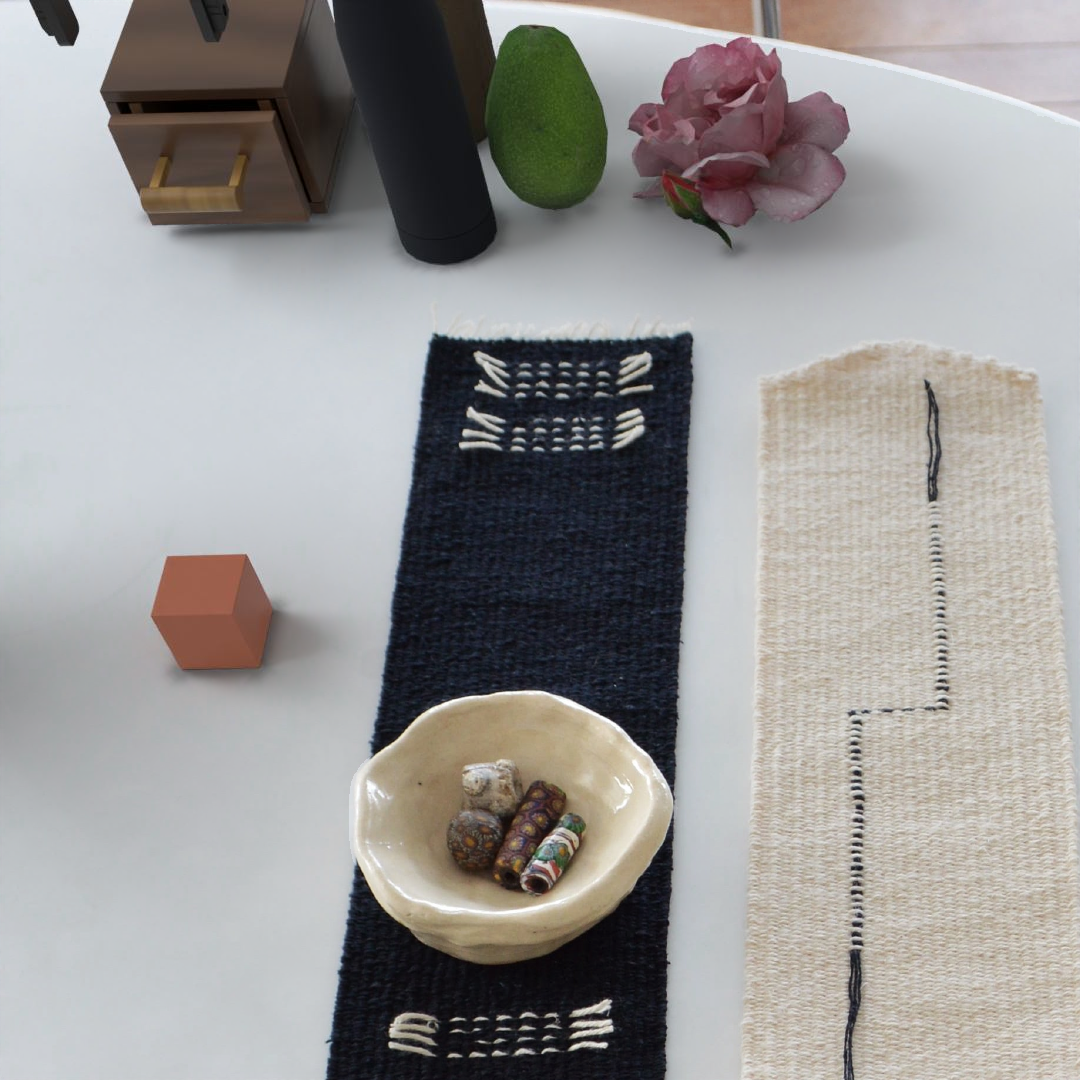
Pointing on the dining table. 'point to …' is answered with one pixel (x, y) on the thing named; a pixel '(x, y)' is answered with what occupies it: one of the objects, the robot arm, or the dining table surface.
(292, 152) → the drawer
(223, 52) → the cabinet
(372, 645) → the dining table surface
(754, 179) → the flower
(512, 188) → the fruit
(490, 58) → the pillar candle
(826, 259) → the dining table surface
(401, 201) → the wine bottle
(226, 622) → the block
